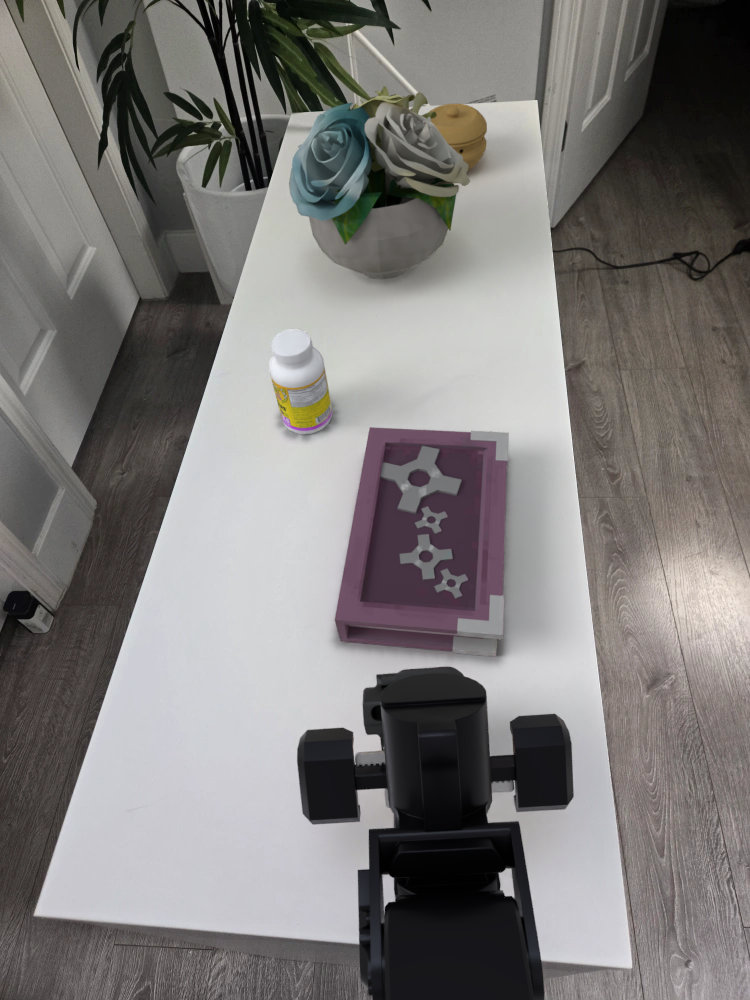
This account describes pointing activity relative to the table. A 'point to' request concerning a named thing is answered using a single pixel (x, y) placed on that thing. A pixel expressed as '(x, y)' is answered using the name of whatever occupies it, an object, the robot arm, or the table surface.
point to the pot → (462, 130)
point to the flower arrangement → (377, 184)
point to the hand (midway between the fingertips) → (428, 715)
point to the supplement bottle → (300, 382)
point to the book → (427, 542)
